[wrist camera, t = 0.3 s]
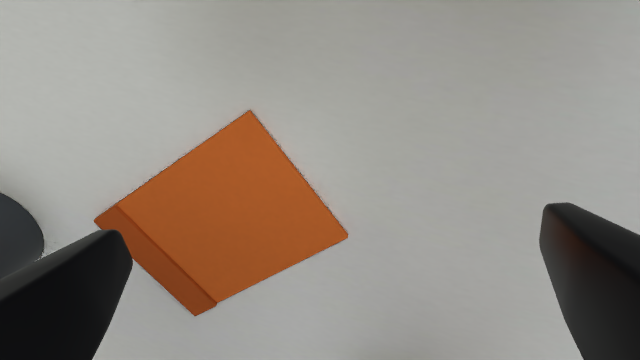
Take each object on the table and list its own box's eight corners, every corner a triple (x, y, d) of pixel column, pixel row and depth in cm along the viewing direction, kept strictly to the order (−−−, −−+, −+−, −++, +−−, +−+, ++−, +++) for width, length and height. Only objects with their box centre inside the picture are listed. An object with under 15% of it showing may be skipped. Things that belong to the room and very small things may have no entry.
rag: (348, 234, 26) (347, 240, 26) (195, 311, 31) (192, 318, 31) (249, 109, 23) (246, 113, 22) (96, 217, 28) (90, 223, 27)
